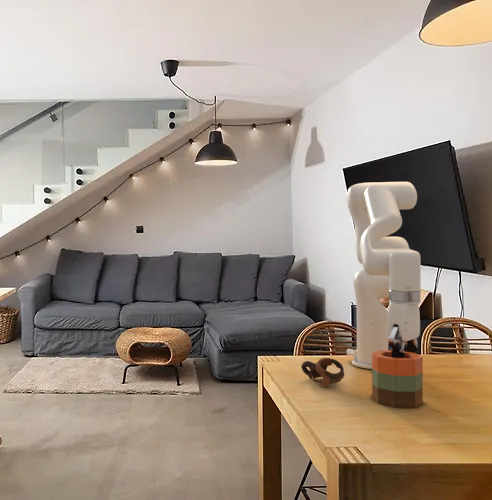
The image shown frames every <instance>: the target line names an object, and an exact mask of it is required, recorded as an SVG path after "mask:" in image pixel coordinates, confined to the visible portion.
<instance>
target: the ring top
mask: <svg viewBox="0 0 492 500" xmlns="http://www.w3.org/2000/svg"><path fill="white" fill-rule="evenodd" d="M403 352H405V351H404V350H403ZM423 358H424V357H423V356H422V355H420V354H418V353H417V354H416V353H412V352H405V358H393V357H392V351H391V349H388V350H380V351H377V352H373V353H372V368H373V369H374V370H376V371H377V372H379V373H384V374H389V375H395V376H416V375H418V374H421V373H423V371H424V369H423V368H424V362H423V361H424V359H423ZM423 374H424V373H423Z"/></svg>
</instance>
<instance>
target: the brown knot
mask: <svg viewBox="0 0 492 500" xmlns="http://www.w3.org/2000/svg"><path fill="white" fill-rule="evenodd" d="M332 365H335V367H336V368H337V369H340V371H338V372H336V373H332V372H330V371H328V370H327V369H328V367H330V366H332ZM300 367H301V370H302V372H303V373H304V374H305V375H306V376H307V377H308V378H309V379H310V380H313V381H314V380H316V379H318V378H322V381H321V386H322V387H324V388H327V387H328V386H329V385H333V384H337V383H340V382H341V381H342V380H343V379H344V377H345V369H344V366H343V364H342V363H341V362H339V361H338V360H336V359H334V358H331V357H322V358H320V359H318V361H316V362H313V361H309V360H305V361H303V362H302V364H301V366H300Z"/></svg>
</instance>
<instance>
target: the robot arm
mask: <svg viewBox="0 0 492 500" xmlns="http://www.w3.org/2000/svg"><path fill="white" fill-rule="evenodd" d="M417 201H418V193H417V190H416V188H415V186H414V185H413V184H412V183H411V182H410V181H383V182H382V181H381V182H379V181H378V182H374V181H373V182H361V183H360V182H359V183H356V184H355V183H354V184H353V185H351V186H350V187H349V188H348V189H347V193H346V202H347V208H348V211H349V214H350V216H351V219H352V221H353V224H354V233H355V235H354V236H355V237H354V238H355V252H356V259H357V261H358V263H359V264H361V265H362V268H363V269H361V270H359V271H357V272H356V273H355V274H354V275H353V276H354V277H353V288H354V294H355V305H356V349H351V348H347V349H346V356H349V357H353V359H351V364H352V365H353V366H354V367H358V368H361V369H367V370H372V353H373V352H377V351H380V350H389V347H390V350H391V351H392V357H393V358H405V352H412V353H416V354H418V348H419V343H418V341H419V337H420V335H421V315H420V304H421V303H422V301H421V300H422V299H421V296H422V295H421V291H422V289H421V288H422V287H421V281H422V280H421V274H422V273H421V265H422V264H421V262H422V261H421V254H420V252H419V251H417V250H414V249H411V248H410V246H409V243H408V241H407V240H406V239H405V238H404V237H401V236H390V235H392V234H394V233H396V232H397V231H398V230H399V229H401V228H402V225H403V218H402V215H401V212H400V210H411V209H414V208H415V206H416V205H417ZM383 299H388V308H386V307H385V305H384V304H383V303H382V302H381V300H383ZM403 351H405V352H403Z"/></svg>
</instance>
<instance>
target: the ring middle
mask: <svg viewBox="0 0 492 500" xmlns="http://www.w3.org/2000/svg"><path fill="white" fill-rule="evenodd" d="M423 374H424V373H421V374H418V375H416V376H395V375H389V374H384V373H379V372H377V371H376V370H374V369H373V368H372V369H371V375H372V376H371V384H372V383H373V384H374V385H375V386H377V387H378V388H381V389H386V390H391V391H395V392H415V391H418V390H420V389H422V388H423V387H424V385H423V384H424V383H423V376H424V375H423Z"/></svg>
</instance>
